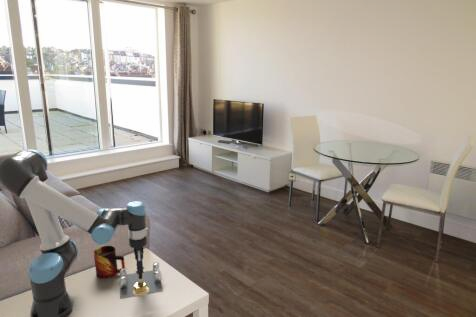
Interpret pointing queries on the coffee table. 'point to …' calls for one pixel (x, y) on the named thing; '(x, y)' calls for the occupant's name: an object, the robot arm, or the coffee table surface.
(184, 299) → the coffee table surface
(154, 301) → the coffee table surface
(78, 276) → the coffee table surface
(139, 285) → the nut
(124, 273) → the spacer far left
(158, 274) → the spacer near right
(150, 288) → the mat
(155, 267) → the spacer far right
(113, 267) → the mug
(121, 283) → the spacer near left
